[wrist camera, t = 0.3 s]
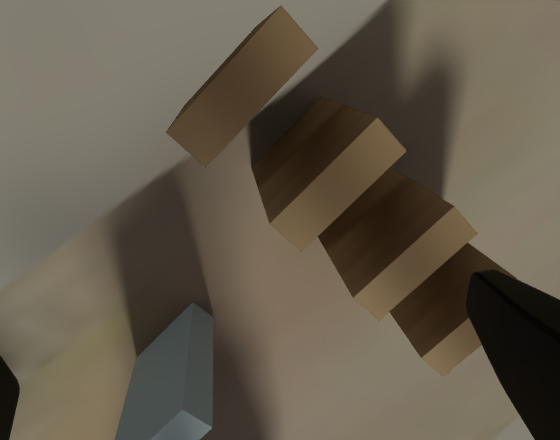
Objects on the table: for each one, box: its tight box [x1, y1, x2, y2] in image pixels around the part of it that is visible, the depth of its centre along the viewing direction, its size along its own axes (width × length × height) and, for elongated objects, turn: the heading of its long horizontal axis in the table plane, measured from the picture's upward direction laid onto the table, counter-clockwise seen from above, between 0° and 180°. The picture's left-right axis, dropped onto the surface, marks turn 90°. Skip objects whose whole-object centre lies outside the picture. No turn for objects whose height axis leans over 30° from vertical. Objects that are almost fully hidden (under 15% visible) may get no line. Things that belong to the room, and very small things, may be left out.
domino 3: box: [252, 97, 406, 252], centre depth 18 cm, size 5×2×8 cm, turn 135°
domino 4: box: [318, 167, 478, 320], centre depth 19 cm, size 5×2×8 cm, turn 134°
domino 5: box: [389, 243, 518, 377], centre depth 21 cm, size 5×2×8 cm, turn 135°
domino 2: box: [166, 6, 318, 167], centre depth 16 cm, size 5×2×8 cm, turn 135°
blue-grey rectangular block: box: [115, 302, 214, 440], centre depth 21 cm, size 5×2×8 cm, turn 134°
